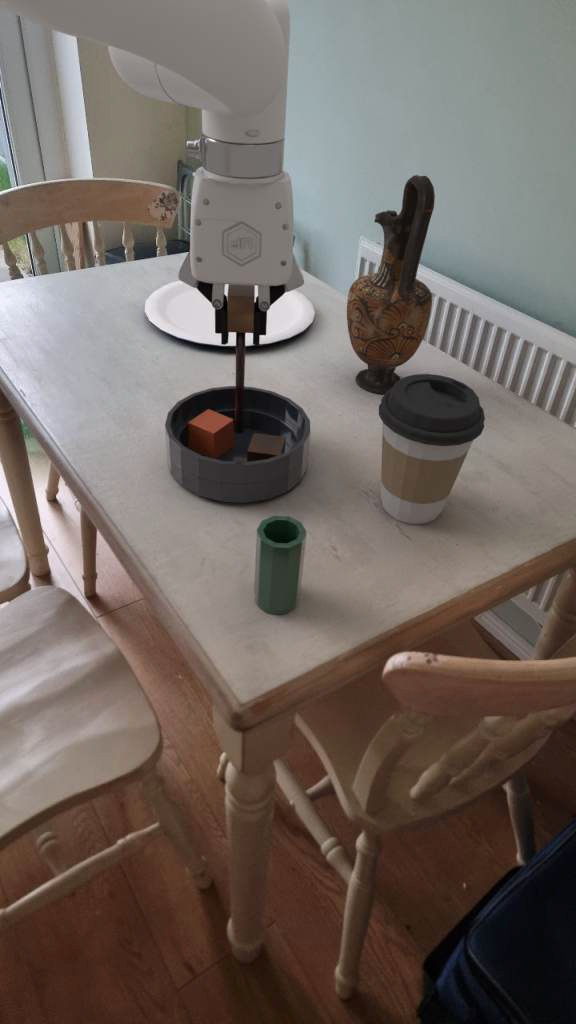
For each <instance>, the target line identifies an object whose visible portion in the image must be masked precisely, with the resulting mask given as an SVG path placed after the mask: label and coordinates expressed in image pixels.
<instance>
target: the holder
mask: <svg viewBox="0 0 576 1024" xmlns="http://www.w3.org/2000/svg"><path fill="white" fill-rule="evenodd" d="M306 541H307V530H306V529H305V526H304V524H303V522H301V521H300V520H298V519H295V518H294V517H291V516H290V515H272V516H270V517H268V518H265V519H263V520H262V521H261V522H260V524H259V525H258V527H257V529H256V540H255V560H254V561H255V564H254V589H253V594H254V601H255V603H256V605H257V607H258V608H259V609H260V610H261V611H263V612H265V613H267V614H270V615H275V616H276V615H278V616H279V615H285V614H288V613H291V612H292V611H293V610H295V608H297V607H298V604H299V600H300V596H301V591H302V582H303V581H302V580H303V572H304V560H305V553H306V552H305V551H306Z"/></svg>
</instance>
